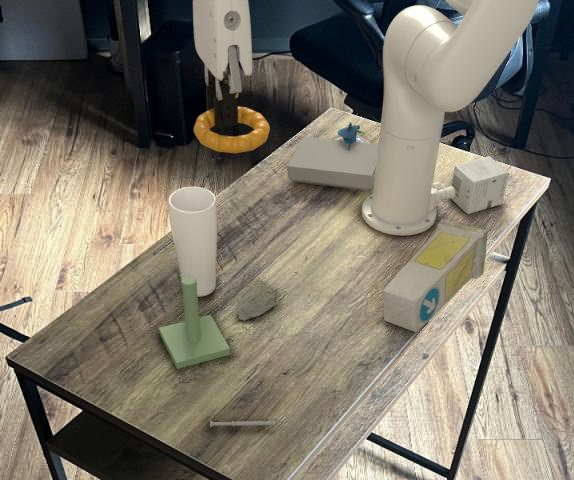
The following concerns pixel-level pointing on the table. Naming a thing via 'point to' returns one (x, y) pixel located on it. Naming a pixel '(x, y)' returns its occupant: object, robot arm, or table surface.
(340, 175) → the flat grey box
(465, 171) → the product carton
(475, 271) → the toppled traffic bollard
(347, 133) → the toy figurine
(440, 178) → the table surface
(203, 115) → the ring
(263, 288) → the rock
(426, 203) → the robot arm
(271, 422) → the wall anchor
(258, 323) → the table surface
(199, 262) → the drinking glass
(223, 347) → the rack
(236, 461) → the table surface
